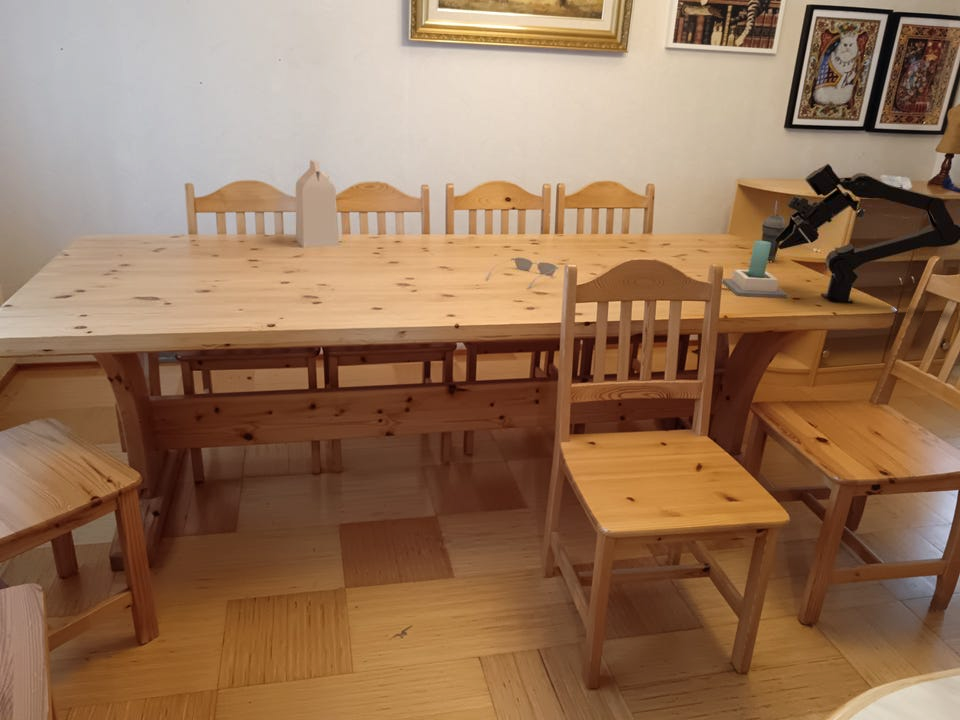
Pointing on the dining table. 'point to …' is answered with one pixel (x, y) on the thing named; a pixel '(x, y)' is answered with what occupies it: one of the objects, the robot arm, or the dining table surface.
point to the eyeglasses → (527, 264)
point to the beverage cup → (772, 232)
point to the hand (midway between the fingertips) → (777, 244)
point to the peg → (759, 259)
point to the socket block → (754, 285)
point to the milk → (316, 209)
